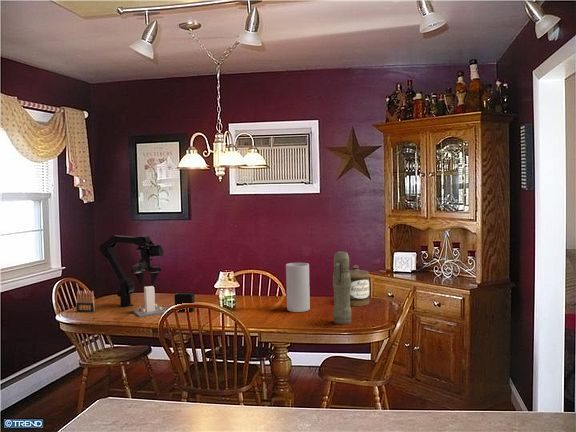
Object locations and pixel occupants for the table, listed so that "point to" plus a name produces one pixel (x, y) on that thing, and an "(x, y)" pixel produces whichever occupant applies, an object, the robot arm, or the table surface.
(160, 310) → the mount plate
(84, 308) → the ammunition clip
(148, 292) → the cream block
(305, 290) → the cylinder vase
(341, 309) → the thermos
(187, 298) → the electronic device
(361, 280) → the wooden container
